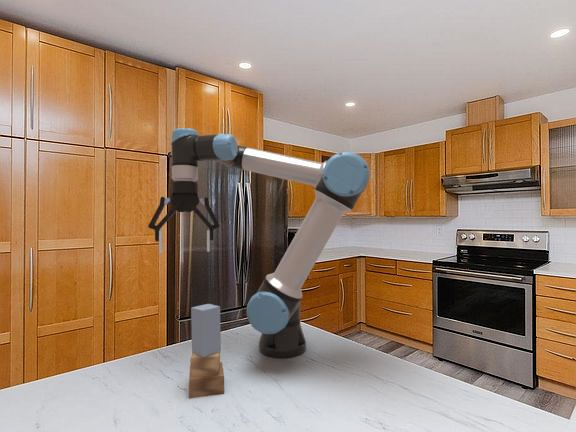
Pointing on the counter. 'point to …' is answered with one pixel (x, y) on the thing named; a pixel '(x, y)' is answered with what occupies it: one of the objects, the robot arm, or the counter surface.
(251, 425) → the counter surface
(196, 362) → the tower top
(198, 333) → the slate block
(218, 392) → the tower base
